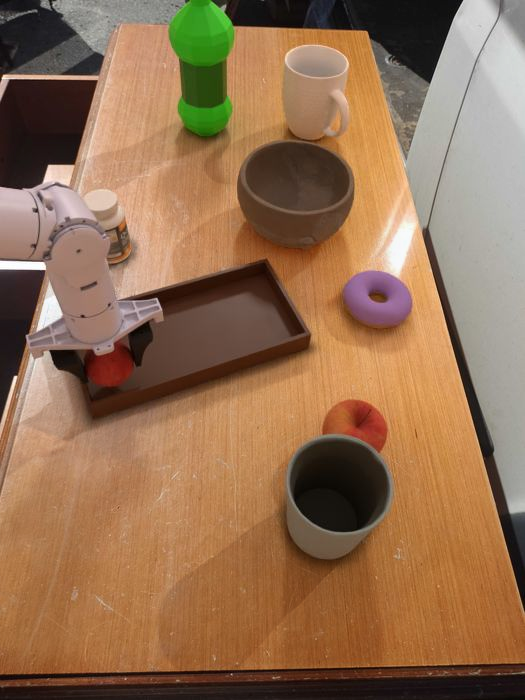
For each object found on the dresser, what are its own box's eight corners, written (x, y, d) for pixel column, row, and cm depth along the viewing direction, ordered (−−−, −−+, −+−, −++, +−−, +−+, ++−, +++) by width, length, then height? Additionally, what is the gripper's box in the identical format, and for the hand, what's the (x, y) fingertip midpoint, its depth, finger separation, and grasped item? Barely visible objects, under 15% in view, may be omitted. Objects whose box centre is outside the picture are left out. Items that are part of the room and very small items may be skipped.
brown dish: (92, 420, 68) (87, 407, 66) (66, 329, 76) (61, 315, 73) (309, 347, 76) (311, 334, 73) (265, 272, 83) (266, 257, 81)
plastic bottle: (214, 151, 99) (209, -1, 79) (166, 131, 102) (149, -21, 82) (244, 124, 104) (247, -25, 84) (198, 106, 107) (190, -44, 87)
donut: (421, 299, 81) (427, 281, 77) (390, 348, 78) (395, 332, 74) (361, 269, 84) (364, 250, 80) (329, 315, 81) (330, 298, 77)
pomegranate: (93, 403, 68) (78, 367, 61) (88, 365, 71) (73, 327, 65) (140, 393, 69) (131, 357, 63) (134, 356, 72) (124, 317, 66)
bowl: (330, 276, 83) (341, 226, 75) (219, 245, 86) (218, 193, 78) (357, 204, 93) (369, 152, 85) (256, 178, 96) (258, 126, 87)
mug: (363, 146, 102) (378, 77, 92) (316, 166, 98) (327, 97, 88) (312, 106, 109) (321, 38, 98) (267, 124, 105) (271, 54, 94)
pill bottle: (136, 260, 84) (125, 208, 75) (98, 269, 82) (83, 217, 74) (127, 234, 87) (116, 182, 78) (90, 243, 85) (74, 191, 77)
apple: (305, 442, 68) (313, 411, 61) (348, 409, 70) (359, 375, 64) (348, 487, 65) (361, 459, 58) (390, 451, 67) (407, 420, 61)
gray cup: (385, 519, 63) (414, 478, 53) (330, 590, 58) (351, 560, 48) (315, 462, 66) (330, 413, 56) (258, 524, 62) (263, 484, 52)
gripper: (20, 347, 53) (57, 414, 64) (166, 304, 57) (177, 375, 68) (8, 294, 57) (45, 367, 68) (147, 257, 60) (160, 332, 72)
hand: (110, 368), depth 68 cm, fingers closed on pomegranate, 6 cm apart
